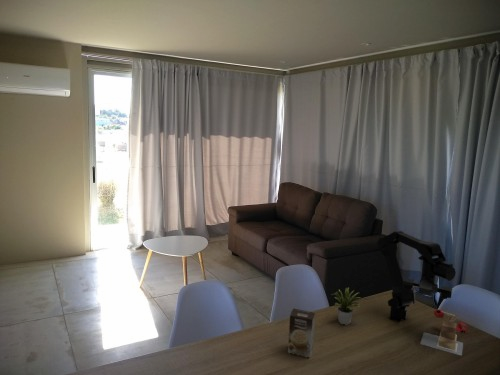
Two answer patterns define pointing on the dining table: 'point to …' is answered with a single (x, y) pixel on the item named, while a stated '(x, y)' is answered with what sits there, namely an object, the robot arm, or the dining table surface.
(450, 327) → the walnut cube
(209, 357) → the dining table surface
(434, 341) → the plate
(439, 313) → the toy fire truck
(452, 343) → the oak base block
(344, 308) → the house plant
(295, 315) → the coffee box
